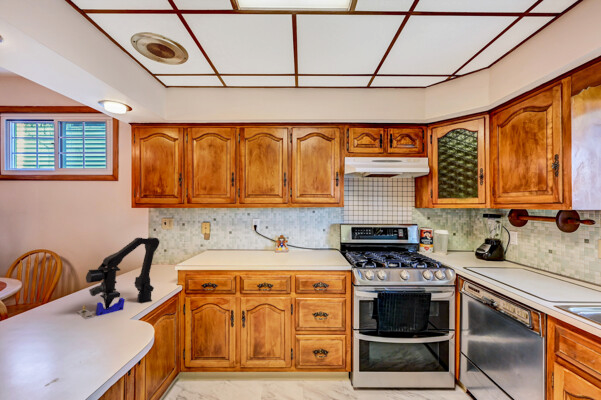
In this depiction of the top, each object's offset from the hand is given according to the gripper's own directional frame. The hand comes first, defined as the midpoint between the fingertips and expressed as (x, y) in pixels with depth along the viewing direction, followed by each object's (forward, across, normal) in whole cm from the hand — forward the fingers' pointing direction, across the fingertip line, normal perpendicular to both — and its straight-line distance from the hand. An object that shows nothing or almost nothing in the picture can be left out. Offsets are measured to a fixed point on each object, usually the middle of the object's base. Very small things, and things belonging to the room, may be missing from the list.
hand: (106, 308), depth 145 cm
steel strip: (+1, -1, -9) cm, 9 cm away
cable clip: (+1, +3, 0) cm, 3 cm away
